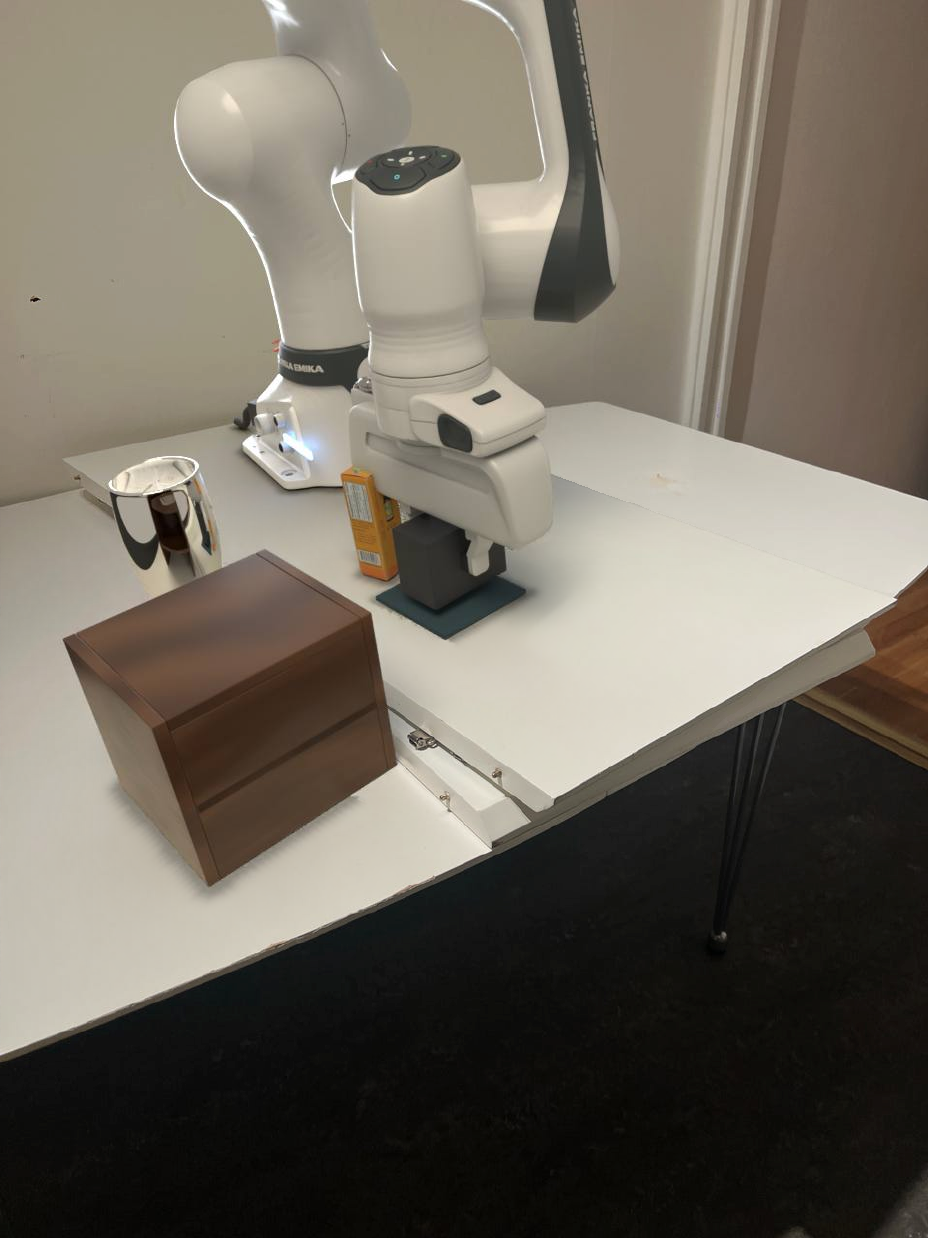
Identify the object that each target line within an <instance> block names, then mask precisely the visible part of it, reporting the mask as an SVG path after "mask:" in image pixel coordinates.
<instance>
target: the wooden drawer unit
mask: <svg viewBox="0 0 928 1238" xmlns="http://www.w3.org/2000/svg"><path fill="white" fill-rule="evenodd" d="M372 614H373V613H372V612H371V611H369V610H368V609H366V608H365V607H363V606H361V605H359V604H358V603H356V602H355V601H353V600H351V599H350V598H348V597H346V596H345V595H343V594H341V593H339V592H338V591H336V590H334V589H333V588H331V587H329V586H328V585H326V584H324V583H323V582H321V581H319V580H318V579H316V578H314V577H313V576H311V575H309V574H308V573H306V572H304V571H302V570H301V569H299V568H297V567H296V566H295V565H293V564H291V563H289V562H288V561H286V560H284V559H283V558H281V557H279V556H278V555H276V554H275V553H273V552H271V551H269V550H268V549H266V548H263V549H261V550H259V551H257V552H255V553H252V554H249V555H247V556H245V557H243V558H241V559H239V560H237V561H234V562H232V563H230V564H227V565H226V566H222V568H221V569H218V570H216V571H214V572H212V573H209V574H207V575H205V576H203V577H200V578H198V579H196V580H194V581H191V582H189V583H187V584H185V585H182V586H180V587H178V588H176V589H173V590H171V591H169V592H167V593H164V594H162V595H160V596H158V597H156V598H153V599H148V600H146V601H144V602H142V603H140V604H137V605H136V606H133V607H131V608H129V609H127V610H124V611H122V612H119V613H118V614H115V615H113V616H111V617H108V618H106V619H104V620H102V621H100V622H97V623H95V624H93V625H90V626H88V627H86V628H83V629H81V630H79V631H77V632H76V633H72V634H70V635H68V636H65V637H63V638H62V643H63V645H64V647H65V650H66V653H67V654H68V656H69V659H70V662H71V664H72V667H73V669H74V671H75V674H76V676H77V679H78V682H79V684H80V686H81V688H82V692H83V694H84V697H85V699H86V702H87V704H88V706H89V709H90V712H91V714H92V717H93V719H94V722H95V724H96V727H97V729H98V731H99V734H100V737H101V739H102V741H103V745H104V747H105V749H106V751H107V753H108V756H109V758H110V759H109V760H110V761H111V763H112V767H113V769H114V772H115V774H116V776H117V779H118V781H119V784H120V786H121V788H122V789H123V790H124V791H125V792H126V794H127V795H128V796H129V797H130V798H131V799H132V801H134V803H135V804H136V805H137V807H139V808H140V809H141V811H142V812H143V813H144V814H145V815H146V817H147V818H148V819H149V820H150V821H151V822H152V824H153V825H154V826H155V827H156V828H157V829H158V830H159V832H160V833H161V834H162V835H163V837H164V838H165V839H167V841H168V842H169V843H170V845H172V847H173V848H174V849H175V850H176V851H177V852H178V853H179V854H180V855H181V857H182V858H183V859H184V861H186V863H187V864H188V865H189V866H190V867H191V868H192V870H193V871H194V872H195V873H196V874H197V876H198V877H199V878H200V879H201V880H202V881H203V883H205V885H206V886H207V887H210V886H212V885H214V884H215V883H217V882H219V881H220V880H221V879H223V878H225V877H227V876H228V875H230V874H231V873H232V872H234V871H236V870H237V869H239V868H240V867H242V866H243V865H245V864H246V863H247V862H249V861H251V860H253V859H254V858H255V857H257V856H258V855H260V854H262V853H264V852H265V851H266V850H268V849H269V848H271V847H272V846H274V845H276V844H277V843H278V842H280V841H282V840H283V839H285V838H287V837H288V836H290V835H291V834H293V833H294V832H295V831H297V830H299V829H300V828H301V827H303V826H305V825H306V824H308V823H310V822H311V821H313V820H314V819H315V818H317V817H319V816H321V815H322V814H323V813H325V812H326V811H328V810H330V809H332V808H333V807H334V806H335V805H337V804H339V803H340V802H342V801H344V800H345V799H346V798H348V797H350V796H351V795H353V794H355V793H356V792H357V791H359V790H360V789H362V788H363V787H365V786H367V785H369V784H370V783H371V782H374V780H376V779H378V778H379V777H381V776H382V775H384V774H385V773H387V772H388V771H389V770H391V769H392V768H394V767H396V766H397V765H398V761H397V755H396V749H395V743H394V737H393V731H392V725H391V720H390V713H389V708H388V707H389V706H388V702H387V695H386V689H385V685H384V678H383V673H382V667H381V661H380V655H379V650H378V643H377V638H376V632H375V626H374V619H373V615H372Z"/></svg>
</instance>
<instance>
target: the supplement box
mask: <svg viewBox="0 0 928 1238" xmlns="http://www.w3.org/2000/svg"><path fill="white" fill-rule="evenodd" d="M340 476H341V480H342V485H343V486H342V490H343V494H344V499H345V504H346V509H347V513H348V518H349V522H350V528H351V532H352V537H353V541H354V547H355V551H356V555H357V560H358V564H359V569H360V573H361V575H365V576H367V577H371V578H374V579H378V580H382V581H389V580H391V579H392V578H393V577H394V576H395V575H396V574H399V573H398V566H397V560H396V553H395V547H394V541H393V534H392V528H394V527H396V526H398V525H400V524H402V523H403V521H402V516H401V510H400V504H399V501H397V500H394V499H392V498H390V497H387V496H385V495H383V494H380V493H378V492H377V491H376V488H375V485H374V480H373V476H372V474H371V473H369V472H367V471H364V470H361V469H358V468H354V467H350V468H349V469H347V470H346V471H344V472H342V473H341V474H340Z"/></svg>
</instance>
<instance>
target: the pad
mask: <svg viewBox="0 0 928 1238" xmlns="http://www.w3.org/2000/svg"><path fill="white" fill-rule="evenodd" d="M526 593H527V590H526V588H524V587H522V586H520V585H518V584H515V583H513V582H511V581H509V580H507V579H505V578H503V577H501V576H500V575H497V576H496V577H494V578H492V579H490V580H489V581H487V582H485V583H483V584H482V585H480V586H478V587H476V588H475V589H473V590H471V591H469V592H468V593H466V594H464V595H462V596H461V597H459V598H457V599H455V600H454V601H452V602H450V603H448V604H447V605H445V606H443V607H441V608H440V609H438V610H434V609H432V608H430V607H428V606H427V605H425V604H423V603H421V602H419V601H417V600H415V599H413V598H411V597H409V596H408V595H406V594H404V593H402V592H401V586H400V583H398V584H396V585H394V586H392V587H391V588H388V589H386V590H384V591H383V592H381V593H378V594H377V595H375V601H378V602H379V603H381V604H383V605H384V606H386V607H388V608H390V609H391V610H393V611H395V612H397V613H399V614H400V615H402V616H403V617H406V618H407V619H409V620H410V621H412V622H414V623H416V624H417V625H419V626H421V627H423V628H424V629H426V630H427V631H429V632H431V633H432V634H434V635H437V636H438V637H440V638H442V639H443V640H447V639H449V638H452V636H454V635H456V634H457V633H460V632H461V631H463V630H464V629H466V628H468V627H470V626H471V625H474V624H475V623H477V622H479V621H480V620H482V619H484V618H485V617H487V616H490V614H492V613H494V612H496V611H498V610H499V609H501V608H503V607H504V606H506V605H508V604H510V603H511V602H513V601H515V600H517V599H518V598H520V597H522V596H524V595H525V594H526Z"/></svg>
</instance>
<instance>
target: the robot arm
mask: <svg viewBox="0 0 928 1238" xmlns="http://www.w3.org/2000/svg"><path fill="white" fill-rule="evenodd" d="M460 1H461V2H464V3H467V4H469V5H473V6H475V7H478V8H479V9H482V10H484V11H485V12H488V13H489V14H491V15H493V16H495V17H496V18H498V19H499V20H500V21H501V22H503V24H504V25H506V26H507V27H508V28H509V30H510V31H511V32H512V33H513V36H514V37H515V39H516V41H517V43H518V45H519V48H520V50H521V52H522V57H523V60H524V65H525V70H526V77H527V82H528V86H529V93H530V98H531V104H532V109H533V114H534V120H535V125H536V132H537V136H538V137H537V138H538V142H539V148H540V152H541V158H542V165H543V170H542V172H541V174H540V175H539V176H538V177H535V178H533V179H530V180H524V181H510V182H496V183H495V182H493V183H480V184H479V183H478V184H471V180H470V177H469V172H468V169H467V166H466V163H465V159H464V158H463V157H462V155H461V154H460V153H458V152H457V151H456V150H453V149H451V148H448V147H443V146H439V145H432V144H431V145H429V144H425V145H423V144H422V145H411V146H405V145H406V143H407V141H408V139H409V136H410V133H411V129H412V120H413V113H412V112H413V110H412V102H411V97H410V93H409V91H408V88H407V84H406V82H405V81H404V79H403V77H402V75H401V74H400V72H399V71H398V69H396V67H395V66H394V65H393V64H392V62H391V61H390V60H389V59H388V57H387V55H386V53H385V52H384V50H383V47H382V45H381V42H380V40H379V37H378V34H377V29H376V27H375V23H374V19H373V16H372V11H371V7H370V3H369V0H261V2H262V4H263V6H264V7H265V10H266V13H267V14H268V17H269V19H270V23H271V26H272V30H273V34H274V38H275V44H276V56H271V57H264V58H256V59H249V60H248V59H246V60H239V61H234V62H229V63H227V64H225V65H223V66H222V65H221V66H220V67H218V68H215V69H213V70H211V71H208V72H207V73H205V74H203V75H201V76H199V77H197V78H195V79H193V80H192V81H190V82H189V83H187V84H186V86H184V87H183V88H182V91H181V93H180V94H179V97H178V99H177V102H176V107H175V111H174V119H173V121H174V123H173V125H174V138H175V143H176V147H177V152H178V154H179V156H180V159H181V162H182V164H183V166H184V168H185V169H186V171H187V172H188V174H189V176H190V177H191V179H192V180H193V181H194V182H195V184H197V186H198V187H199V188H200V189H201V190H202V191H203V192H204V193H205V194H207V195H208V196H210V197H211V198H213V199H214V200H216V201H218V202H219V203H220V204H222V205H223V206H225V207H226V208H227V209H228V210H229V211H230V212H231V213H232V214H233V215H234V216H235V217H236V218H237V220H238V221H239V223H241V225H242V226H243V228H244V229H245V230H246V232H247V234H248V235H249V237H250V238H251V240H252V242H253V244H254V245H255V247H256V249H257V252H258V254H259V256H260V258H261V261H262V263H263V267H264V268H265V272H266V276H267V278H268V283H269V286H270V292H271V295H272V299H273V305H274V309H275V313H276V318H277V322H278V327H279V331H280V337H281V338H280V339H276V340H273V341H272V342H271V344H272V345H275V344H278V346H277V347H276V348H274V349H273V352H274V353H277V352H278V354H277V372H278V374H277V375H276V377H275V378H274V380H272V381H271V383H270V384H269V385H268V387H267V388H266V389H265V390H264V391H263V392H262V393H261V395H260V396H259V397H257V398H255V399H252V400H250V401H248V402H247V403H246V404H247V405H246V406H245V407H244V409H243V410H242V418H240V417H235V418H234V419H233V424H234V425H235V426H237V427H238V428H241V429H248V428H249V427H250V425H251V426H253V427H255V429H256V431H257V432H254V433H253V434H251V435H250V436H249V437H247V438H246V439H245V440H244V441H243V442H242V451H243V453H245V454H246V455H247V456H248V457H249V458H250V459H251V460H253V461H254V462H255V463H256V464H257V465H258V466H259V467H260V468H261V469H262V470H264V471H265V472H266V473H267V474H268V475H269V476H270V477H271V478H272V479H273V480H275V482H276V483H278V484H279V485H280V486H281V487H282V488H284V489H285V490H299V489H307V488H313V487H343V485H342V480H341V476H340V474H341V473H342V472H344V471H346V470H347V469H349V468H350V467H354V468H358V469H361V470H364V471H367V472H369V473H371V474H372V476H373V480H374V485H375V488H376V491H377V492H378V493H380V494H383V495H385V496H387V497H390V498H392V499H394V500H397V501H398V504H399V510H400V513H401V514H402V516H403V518H404V520H405V522H406V521H408V520H410V519H412V518H414V517H416V516H418V515H420V514H422V513H427V514H429V515H432V516H434V517H436V518H439V519H441V520H443V521H446V522H448V523H450V524H453V525H455V526H457V527H460V528H462V529H464V530H465V535H466V539H468V540H471V543H470V546H469V549H467V550H465V551H463V552H461V553H460V560H461V563H462V564H461V568H462V570H464V571H466V572H468V573H470V574H472V575H474V576H478V575H480V574H481V573H483V572H485V571H486V570H487V569H488V567H489V556H488V550H489V549H490V547H491V545H492V543H493V542H495V543H497V544H499V545H502V546H504V547H505V549H509V550H510V551H516V552H517V551H521V550H523V549H524V548H527V547H528V546H531V545H532V544H534V543H536V542H538V541H539V540H540V539H542V538H544V537H545V536H546V535H547V534H548V532H549V531H550V529H551V528H552V526H553V523H554V492H553V480H552V472H551V471H552V470H551V463H550V458H549V454H548V451H547V449H546V447H545V445H544V443H543V442H542V440H541V439H540V438H539V437H538V436H537V434H538V433H540V432H542V431H544V430H545V429H546V426H547V411H546V408H545V405H544V404H543V403H542V401H540V400H539V399H538V398H536V397H535V396H533V395H532V394H530V393H529V392H527V391H526V390H524V389H523V388H522V387H520V386H519V385H518V384H516V383H515V382H514V381H513V380H511V379H510V378H509V377H508V376H506V374H504V372H502V370H500V368H498V367H496V366H495V365H492V361H491V349H490V348H491V347H490V343H489V340H488V337H487V334H486V332H485V328H484V323H483V321H502V320H526V319H527V320H528V319H532V320H534V321H537V322H538V321H539V322H552V323H567V324H578V323H580V322H581V321H583V320H584V319H585V318H587V317H588V316H590V315H591V314H592V313H593V312H595V311H596V310H597V309H598V308H599V307H601V306H602V304H603V303H605V301H607V300H608V298H609V297H610V296H611V295H612V293H613V292H614V291H615V290H616V289H617V281H618V277H619V274H620V269H621V263H622V261H621V260H622V245H621V244H622V243H621V242H622V241H621V234H620V233H621V232H620V229H619V223H618V219H617V215H616V212H615V211H616V210H615V208H614V205H613V202H612V199H611V195H610V193H609V190H608V187H607V182H606V177H605V172H604V171H605V170H604V166H603V160H602V154H601V148H600V142H599V136H598V130H597V123H596V116H595V111H594V104H593V98H592V91H591V86H590V84H591V83H590V78H589V73H588V67H587V60H586V54H585V47H584V41H583V35H582V30H581V29H582V28H581V23H580V17H579V12H578V6H577V0H460ZM349 180H352V181H351V191H350V227H351V229H350V227H349V225H347V223H346V222H345V220H344V218H343V216H342V214H341V212H340V209H339V207H338V204H337V201H336V198H335V195H334V190H333V185H335V184H338V183H342V182H346V181H349Z"/></svg>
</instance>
